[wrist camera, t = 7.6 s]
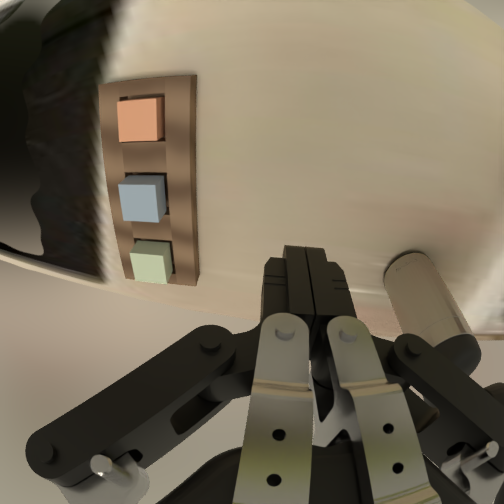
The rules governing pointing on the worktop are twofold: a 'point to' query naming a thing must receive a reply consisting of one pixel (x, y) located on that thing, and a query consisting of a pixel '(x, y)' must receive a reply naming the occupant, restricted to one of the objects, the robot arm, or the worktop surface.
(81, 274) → the worktop surface
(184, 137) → the button panel
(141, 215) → the slate blue button
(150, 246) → the sage green button
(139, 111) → the terracotta button
